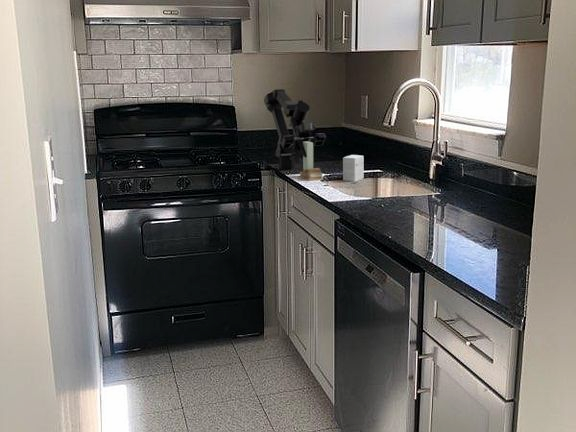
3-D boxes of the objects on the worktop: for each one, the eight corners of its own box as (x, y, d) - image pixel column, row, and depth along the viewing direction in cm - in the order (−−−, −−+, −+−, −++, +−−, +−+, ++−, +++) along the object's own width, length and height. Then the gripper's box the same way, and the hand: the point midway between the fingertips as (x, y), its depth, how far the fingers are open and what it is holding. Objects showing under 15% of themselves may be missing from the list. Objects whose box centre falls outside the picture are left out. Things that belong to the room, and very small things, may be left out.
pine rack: (297, 178, 277) (297, 166, 275) (312, 176, 279) (312, 165, 278) (308, 183, 266) (308, 170, 264) (323, 181, 268) (323, 169, 267)
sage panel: (303, 169, 275) (302, 141, 272) (308, 169, 276) (308, 141, 273) (307, 171, 271) (307, 143, 268) (313, 171, 272) (313, 142, 269)
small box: (352, 179, 272) (352, 154, 269) (363, 180, 269) (364, 155, 266) (342, 182, 265) (342, 157, 263) (354, 183, 262) (354, 158, 260)
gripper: (282, 116, 268) (293, 146, 261) (324, 114, 274) (335, 143, 267) (277, 133, 277) (286, 162, 270) (317, 130, 284) (327, 159, 276)
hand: (309, 156), depth 271 cm, fingers closed on sage panel, 3 cm apart
